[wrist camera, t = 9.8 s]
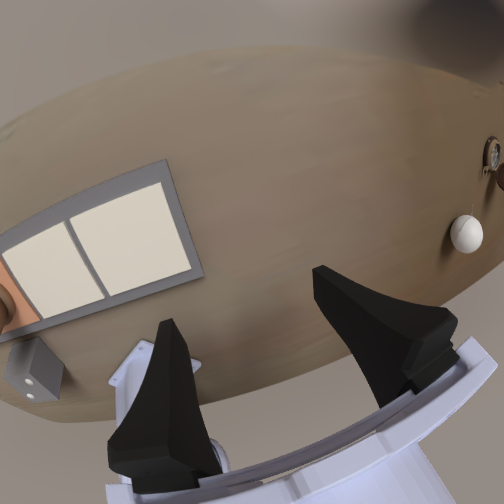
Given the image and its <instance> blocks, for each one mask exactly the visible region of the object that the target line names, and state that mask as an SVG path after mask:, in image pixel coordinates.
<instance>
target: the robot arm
mask: <svg viewBox="0 0 504 504" xmlns="http://www.w3.org/2000/svg"><path fill="white" fill-rule="evenodd" d="M312 272H313V289H314V299H315V301H316V303H317V305H318V306H319V308H320V310H321V311H322V313H323V315H324V316H325V317H326V319H327V320H328V321H329V323H330V324H331V325H332V327H333V328H334V329H335V330H336V332H337V333H338V334H339V336H340V337H341V338H342V340H343V341H344V342H345V343H346V345H347V346H348V348H349V349H350V351H351V353H352V354H353V356H354V357H355V359H356V361H357V363H358V365H359V366H360V368H361V370H362V372H363V374H364V376H365V377H366V380H367V381H368V384H369V386H370V387H371V390H372V392H373V394H374V396H375V398H376V401H377V403H378V405H379V408H380V409H379V410H378V411H376V412H374V413H372V414H371V415H369V416H367V417H366V418H364V419H362V420H360V421H358V422H356V423H355V424H353V425H351V426H349V427H347V428H345V429H343V430H341V431H339V432H337V433H335V434H333V435H331V436H329V437H327V438H324V439H323V440H320V441H318V442H315V443H313V444H311V445H308V446H306V447H304V448H301V449H299V450H296V451H294V452H291V453H288V454H286V455H283V456H280V457H278V458H275V459H272V460H269V461H266V462H263V463H260V464H256V465H253V466H250V467H246V468H243V469H239V470H236V471H232V472H231V471H230V464H229V460H228V457H227V454H226V452H225V451H224V449H223V447H222V446H221V445H220V444H219V443H218V442H217V441H216V440H214V439H211V438H209V436H208V433H207V430H206V427H205V424H204V421H203V418H202V415H201V412H200V408H199V404H198V399H197V394H196V388H195V381H194V375H193V373H194V372H195V371H196V370H198V369H199V368H200V367H201V365H202V364H201V362H200V361H198V360H195V359H192V358H190V355H189V351H188V347H187V344H186V342H185V340H184V339H183V337H182V335H181V333H180V332H179V330H178V328H177V326H176V325H175V323H174V321H173V319H172V318H171V319H168V320H165V321H161V322H160V323H159V327H158V331H157V336H156V340H155V344H152V343H149V342H147V341H144V340H143V341H140V342H139V343H138V344H137V345H136V347H135V348H134V349H133V350H132V352H131V353H130V354H129V355H128V357H127V358H126V359H125V360H124V362H123V363H122V364H121V365H120V367H119V368H118V369H117V370H116V372H115V373H114V374H113V375H112V377H111V378H110V379H109V384H110V385H113V386H115V387H116V424H117V430H116V431H115V432H114V434H113V435H112V436H111V438H110V439H109V440H108V446H107V450H108V462H109V468H110V469H111V470H112V471H114V472H116V473H118V474H119V480H120V484H106V485H105V488H106V495H107V501H108V504H456V503H455V501H454V499H453V498H452V496H451V495H450V493H449V492H448V490H447V488H446V487H445V485H444V484H443V482H442V480H441V479H440V477H439V476H438V474H437V473H436V471H435V470H434V468H433V467H432V465H431V464H430V462H429V460H428V459H427V457H426V456H425V454H424V453H423V451H422V450H421V448H420V447H419V445H418V444H417V442H419V441H420V440H422V439H423V438H424V437H426V436H427V435H428V434H429V433H431V432H432V431H433V430H434V429H436V428H437V427H438V426H439V425H440V424H442V423H443V422H444V421H445V420H446V419H447V418H449V417H450V416H451V415H452V414H453V413H454V412H455V411H456V410H458V409H459V407H461V406H462V405H463V404H464V403H465V402H466V401H467V400H468V399H469V398H470V397H471V396H472V395H473V394H474V393H475V392H476V391H477V390H478V389H479V388H480V387H481V386H482V385H483V383H484V382H485V381H486V380H487V379H488V378H489V376H490V375H491V374H492V373H493V372H494V370H495V369H496V368H497V367H498V364H497V363H496V362H495V361H494V360H493V359H492V358H491V357H490V356H489V354H488V353H487V352H486V351H485V350H484V349H483V348H482V347H481V346H480V345H479V344H478V342H477V341H476V340H475V339H474V338H473V337H472V336H470V337H469V338H468V339H467V340H466V341H465V342H464V343H462V344H461V345H460V346H459V347H458V348H457V349H456V350H455V351H454V350H453V349H452V347H453V343H452V342H451V341H450V339H451V337H452V335H453V333H454V331H455V329H456V327H457V323H458V319H457V318H456V317H455V316H454V315H453V314H452V313H451V312H450V311H449V310H448V309H447V308H444V307H433V306H425V305H420V304H414V303H410V302H406V301H402V300H398V299H395V298H392V297H389V296H386V295H383V294H380V293H378V292H375V291H373V290H371V289H369V288H366V287H364V286H362V285H360V284H358V283H356V282H354V281H352V280H350V279H348V278H346V277H344V276H343V275H341V274H339V273H337V272H335V271H333V270H332V269H330V268H328V267H326V266H324V265H321V266H319V267H316V268H313V269H312ZM141 347H142V348H141ZM375 429H376V432H375V433H372V434H370V435H368V436H366V437H365V438H363V439H361V440H359V441H357V442H355V443H353V444H351V445H349V446H347V447H346V448H344V449H342V450H339V451H338V452H335V453H333V454H331V455H329V456H327V457H325V458H323V459H320V460H318V461H316V462H313V463H311V464H309V465H307V466H304V467H302V468H300V469H298V470H296V471H294V472H293V473H290V474H288V475H285V476H283V477H280V478H278V479H276V480H273V481H270V482H267V483H265V484H263V482H262V481H259V480H262V479H265V478H268V477H271V476H274V475H277V474H280V473H283V472H286V471H289V470H291V469H294V468H297V467H299V466H302V465H304V464H306V463H309V462H311V461H313V460H316V459H318V458H321V457H323V456H325V455H327V454H330V453H332V452H334V451H336V450H338V449H340V448H342V447H344V446H346V445H348V444H350V443H352V442H354V441H355V440H357V439H359V438H361V437H363V436H365V435H366V434H368V433H370V432H372V431H373V430H375ZM255 481H257V482H255Z"/></svg>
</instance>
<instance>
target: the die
mask: <svg viewBox="0 0 504 504" xmlns="http://www.w3.org/2000/svg"><path fill="white" fill-rule="evenodd" d="M63 368H64V364H63V363H62V362H61V361H60V360H59V359H58V358H57V357H56V356H55V355H54V354H53V352H52V351H51V350H50V349H49V348H48V347H47V346H46V345H45V344H44V342H43V341H42V340H41V339H40V338H39V337H36V338H33V339H30V340H26V341H23V342H20V343H16V344H13V346H12V349H11V352H10V355H9V358H8V361H7V365H6V368H5V372H4V375H3V378H4V379H5V380H6V381H7V382H8V383H9V384H10V385H11V386H12V387H13V388H15V389H16V390H17V391H18V392H19V393H20V394H21V395H23V396H24V397H25V398H26V399H27V400H29V401H30V402H31V403H35V402H44V401H52V400H59V396H60V388H61V381H62V374H63Z"/></svg>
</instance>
